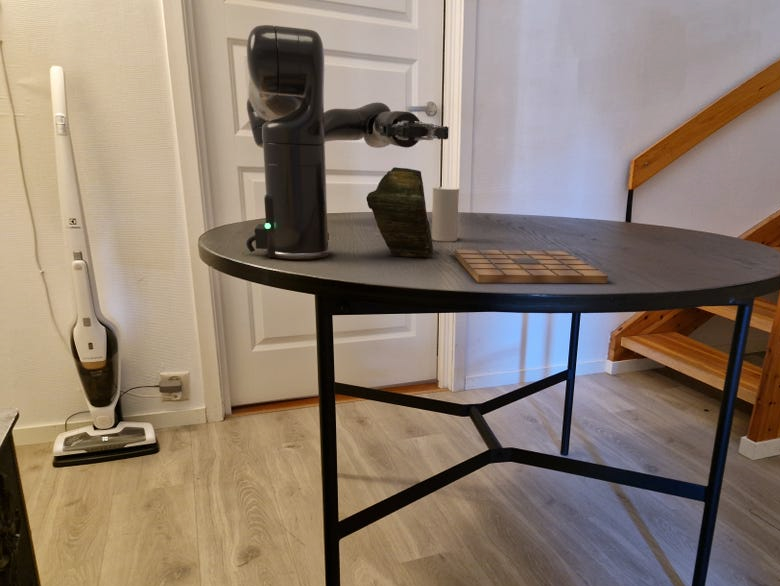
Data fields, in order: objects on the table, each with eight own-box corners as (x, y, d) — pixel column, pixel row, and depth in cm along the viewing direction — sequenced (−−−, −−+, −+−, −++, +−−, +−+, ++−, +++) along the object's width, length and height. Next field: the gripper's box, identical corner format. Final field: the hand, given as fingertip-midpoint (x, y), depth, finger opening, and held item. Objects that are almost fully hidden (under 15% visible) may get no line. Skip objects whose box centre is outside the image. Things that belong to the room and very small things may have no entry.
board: (478, 282, 89) (478, 273, 89) (454, 256, 107) (454, 248, 107) (606, 283, 93) (607, 274, 93) (563, 257, 112) (563, 250, 111)
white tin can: (433, 241, 121) (434, 188, 118) (429, 236, 126) (431, 186, 122) (459, 241, 122) (461, 189, 119) (454, 237, 127) (456, 187, 123)
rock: (432, 262, 101) (418, 168, 95) (377, 269, 101) (360, 174, 96) (436, 246, 112) (424, 161, 107) (387, 252, 113) (373, 167, 107)
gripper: (428, 147, 145) (457, 153, 132) (369, 145, 139) (394, 151, 126) (429, 113, 142) (458, 115, 129) (369, 109, 136) (394, 111, 123)
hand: (426, 132), depth 127 cm, fingers open, 8 cm apart
